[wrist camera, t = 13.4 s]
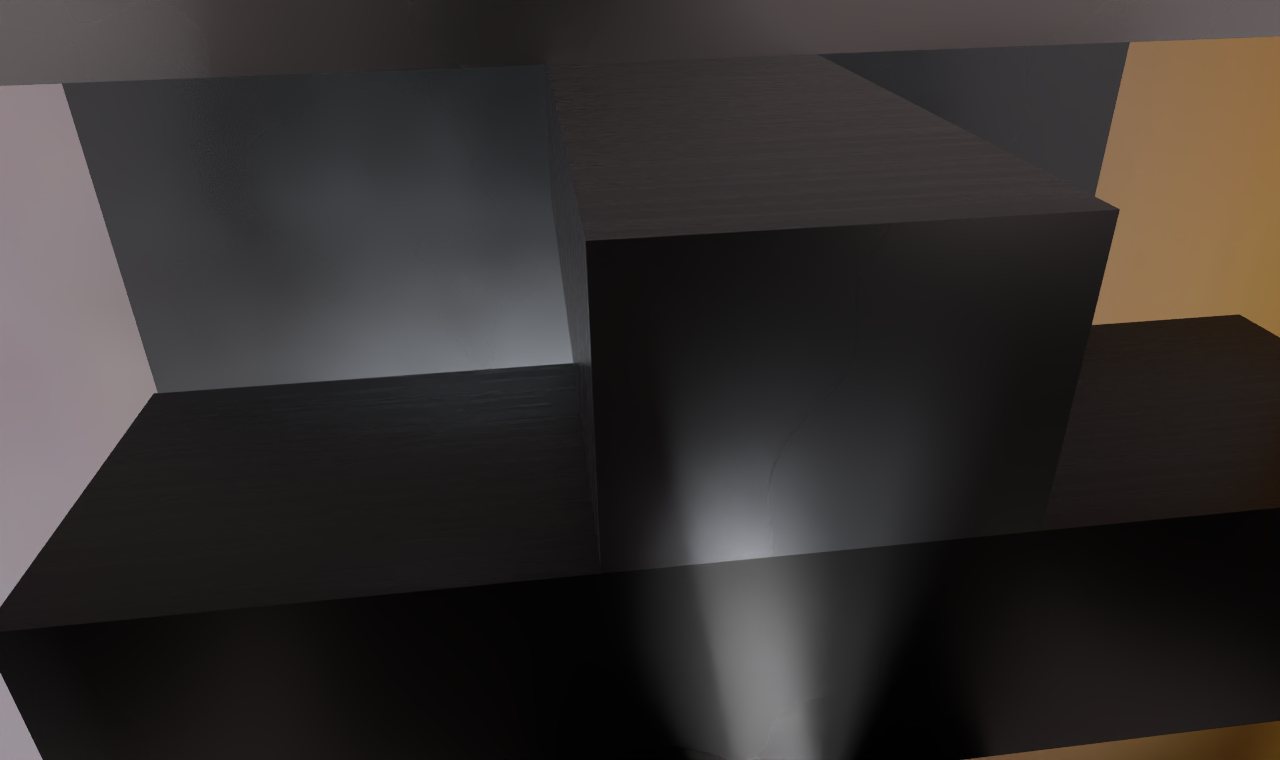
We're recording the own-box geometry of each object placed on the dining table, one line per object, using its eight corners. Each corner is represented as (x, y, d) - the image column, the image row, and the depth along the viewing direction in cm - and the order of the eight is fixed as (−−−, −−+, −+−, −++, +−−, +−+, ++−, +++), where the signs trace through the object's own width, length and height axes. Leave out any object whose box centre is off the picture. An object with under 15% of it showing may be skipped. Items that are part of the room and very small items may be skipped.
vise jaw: (1200, -220, 9) (2706, -473, 3) (1077, 312, 12) (1703, 771, 6) (-40, -211, 8) (-2107, -612, 2) (145, 378, 11) (-367, 1053, 5)
